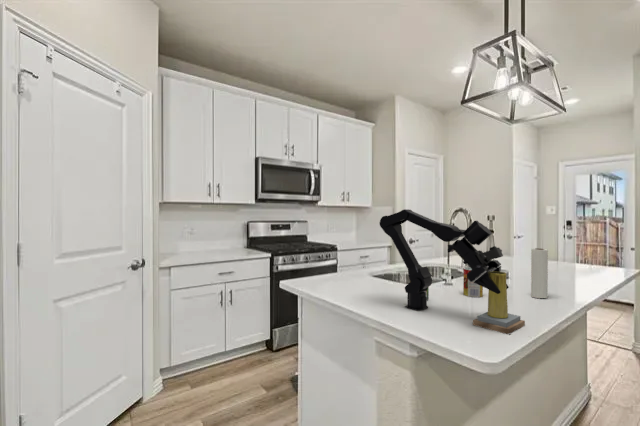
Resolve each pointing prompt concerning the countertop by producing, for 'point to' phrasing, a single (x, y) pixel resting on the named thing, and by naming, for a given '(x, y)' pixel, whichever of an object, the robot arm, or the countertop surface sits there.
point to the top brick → (499, 320)
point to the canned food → (471, 286)
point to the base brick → (499, 328)
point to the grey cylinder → (539, 273)
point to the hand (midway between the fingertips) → (503, 290)
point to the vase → (498, 296)
